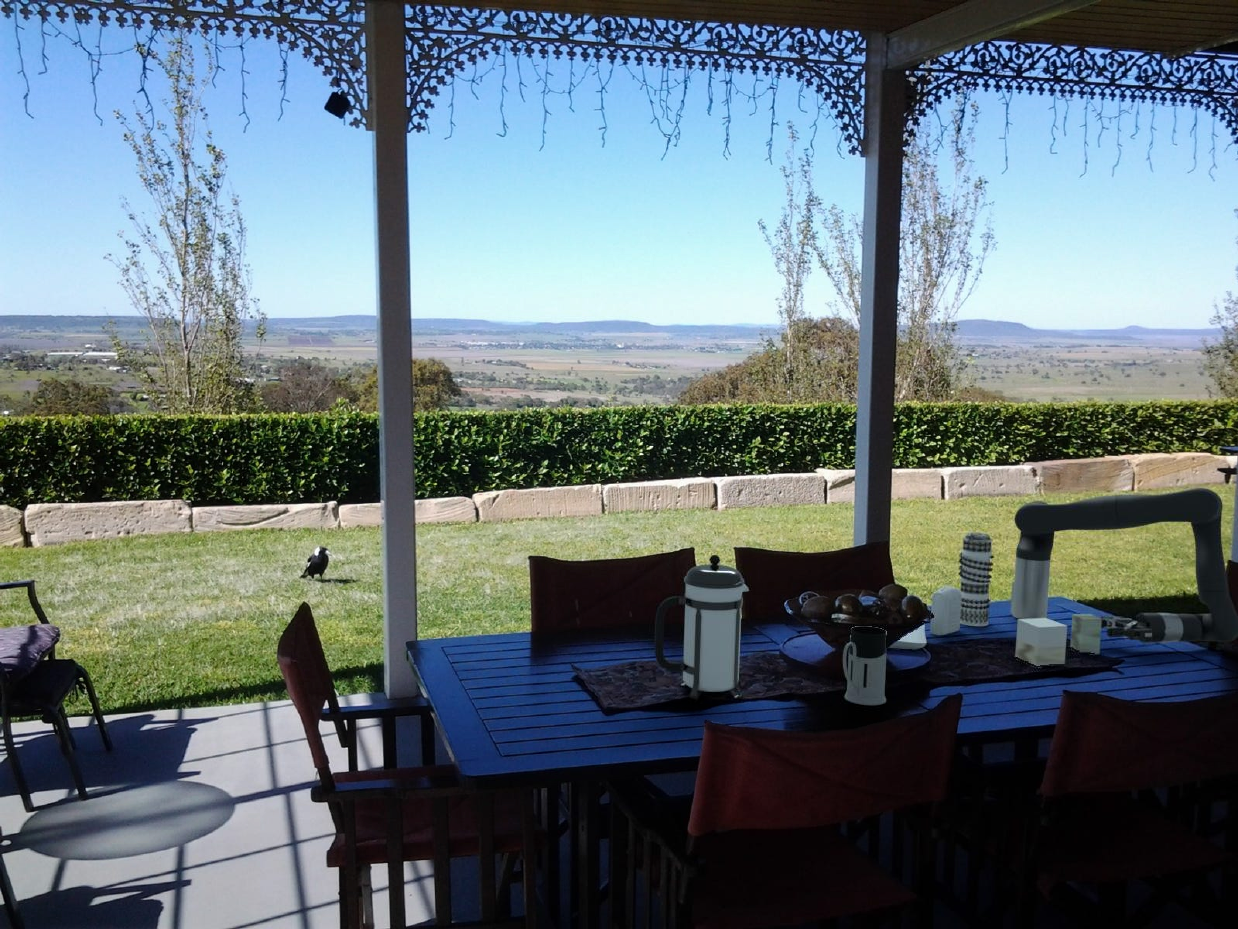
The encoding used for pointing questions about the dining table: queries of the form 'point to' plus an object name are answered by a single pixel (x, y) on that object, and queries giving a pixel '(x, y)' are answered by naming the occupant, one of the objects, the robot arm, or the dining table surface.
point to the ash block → (1040, 654)
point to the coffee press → (707, 629)
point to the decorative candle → (975, 579)
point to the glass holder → (866, 665)
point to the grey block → (1041, 632)
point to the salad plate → (912, 640)
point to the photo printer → (946, 611)
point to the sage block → (1086, 633)
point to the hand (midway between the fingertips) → (1098, 628)
